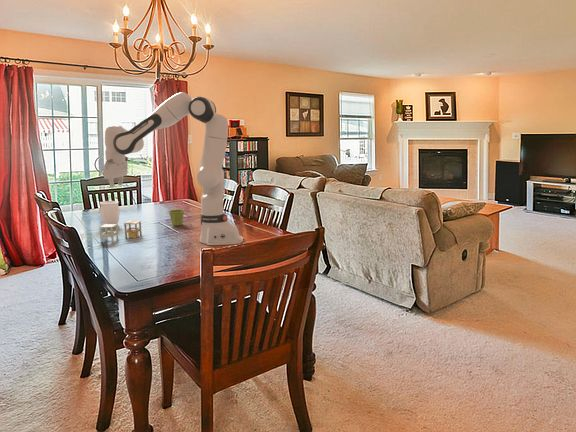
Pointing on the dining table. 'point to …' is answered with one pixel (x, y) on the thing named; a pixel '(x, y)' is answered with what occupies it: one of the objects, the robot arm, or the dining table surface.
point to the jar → (110, 212)
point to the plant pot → (176, 217)
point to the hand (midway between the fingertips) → (116, 186)
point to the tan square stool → (133, 228)
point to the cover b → (108, 232)
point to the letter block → (132, 234)
